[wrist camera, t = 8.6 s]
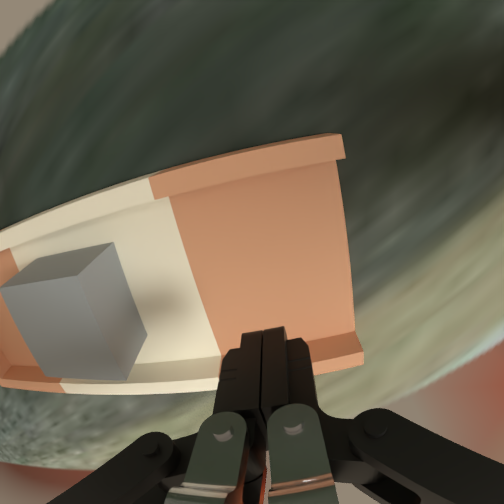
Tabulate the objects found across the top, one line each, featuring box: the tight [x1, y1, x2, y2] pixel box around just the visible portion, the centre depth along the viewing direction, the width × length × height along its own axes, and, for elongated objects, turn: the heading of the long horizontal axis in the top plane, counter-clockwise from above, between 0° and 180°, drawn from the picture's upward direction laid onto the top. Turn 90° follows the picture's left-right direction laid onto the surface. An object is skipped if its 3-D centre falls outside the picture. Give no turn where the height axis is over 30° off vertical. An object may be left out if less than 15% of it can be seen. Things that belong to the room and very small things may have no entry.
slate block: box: [0, 242, 147, 381], centre depth 15 cm, size 6×6×4 cm
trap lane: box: [0, 133, 364, 395], centre depth 16 cm, size 29×12×2 cm, turn 103°
